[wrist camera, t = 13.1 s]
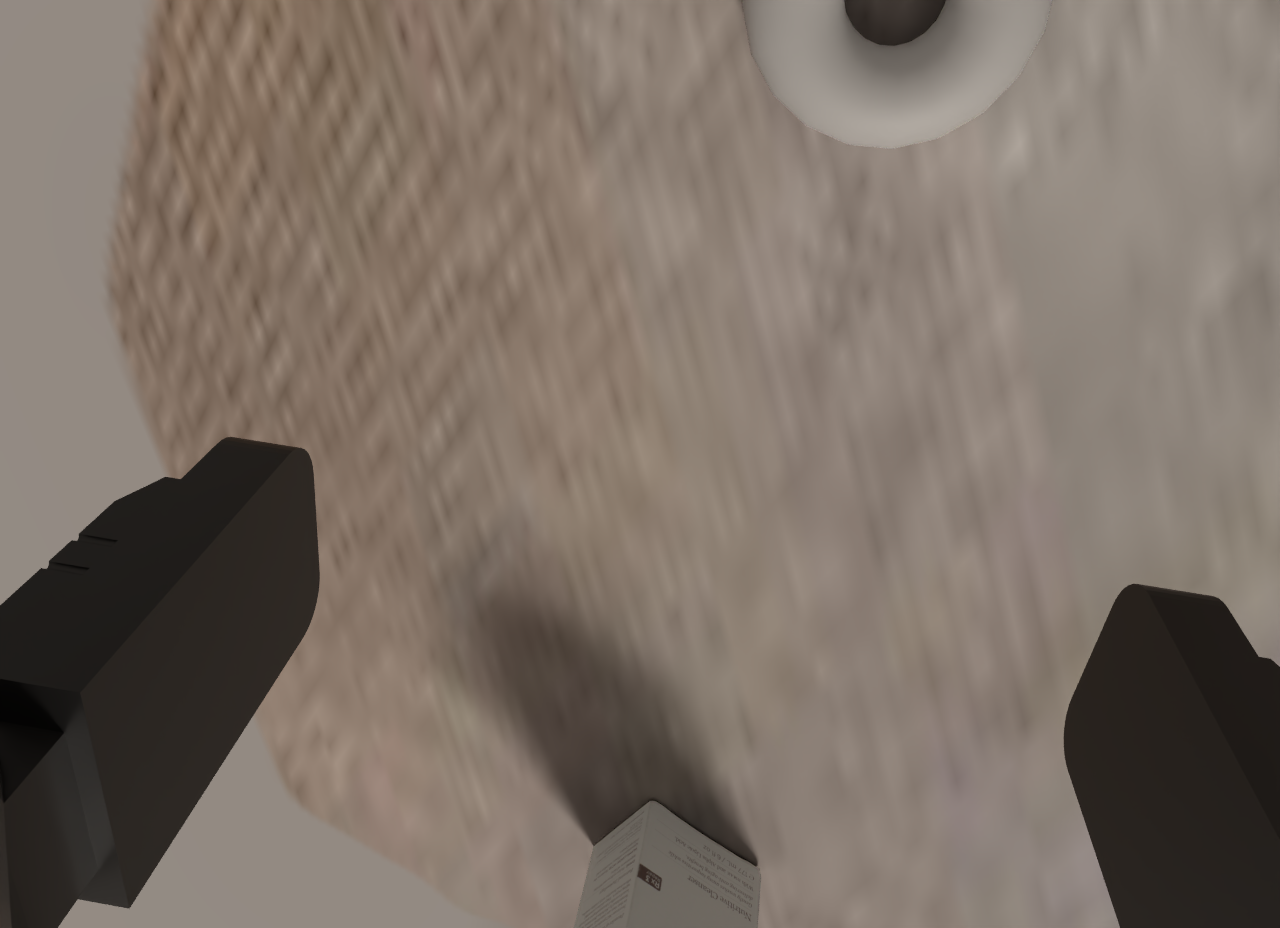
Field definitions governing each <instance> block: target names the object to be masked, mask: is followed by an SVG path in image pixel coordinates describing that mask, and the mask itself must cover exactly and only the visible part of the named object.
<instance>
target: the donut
mask: <svg viewBox="0 0 1280 928" xmlns="http://www.w3.org/2000/svg"><path fill="white" fill-rule="evenodd" d="M1051 4H1052V0H946V2H945V5H944V7H943V8H942V10H941V12H940V14H939V16H938V18H937V20H936V21H935V22H934V23H933V24H932V25H931V27H930V28H929V29H928V30H927V31H926V32H925V33H924V34H922V35H921V36H919V37H917V38H916V39H914V40H912V41H911V42H908V43H904V44H900V45H896V46H889V45H878V44H876V43H874V42H872V41H870V40H867V39H865V38H864V37H863V36H862V35H861V34H860V33H859V32H858V31H857V30H856V29H855V28H854V27H853V26H852V24H851V21H850V19H849V17H848V15H847V13H846V8H845V1H844V0H742V8H743V13H744V19H745V24H746V29H747V35H748V40H749V45H750V51H751V55H752V57H753V58H754V60H755V62H756V64H757V66H758V68H759V70H760V71H761V73H762V75H763V77H764V79H765V81H766V83H767V84H768V86H769V88H770V90H771V92H772V94H773V95H774V96H775V97H776V98H777V99H778V100H779V101H780V102H781V103H782V104H783V105H784V106H785V107H786V108H787V109H789V110H790V111H791V112H792V113H793V114H794V115H795V116H796V117H797V118H798V119H799V120H800V121H801V122H802V123H803V124H805V125H806V126H807V127H809V128H812V129H814V130H816V131H818V132H821V133H823V134H825V135H827V136H830V137H832V138H834V139H836V140H839V141H841V142H843V143H845V144H848V145H856V146H867V147H879V148H890V149H894V148H899V147H903V146H908V145H912V144H917V143H921V142H925V141H930V140H934V139H939V138H941V137H942V136H944V135H946V134H948V133H949V132H951V131H953V130H955V129H957V128H958V127H960V126H962V125H964V124H965V123H967V122H969V121H971V120H973V119H974V118H976V117H978V116H980V115H981V114H983V113H984V112H985V111H986V110H987V109H988V108H989V107H990V106H991V105H992V104H993V103H994V102H995V101H996V100H997V99H998V98H999V97H1000V96H1001V95H1002V94H1003V93H1004V92H1005V91H1006V90H1007V89H1008V88H1009V87H1010V86H1011V85H1012V84H1013V83H1014V82H1015V81H1016V80H1017V79H1018V77H1019V76H1020V74H1021V72H1022V71H1023V69H1024V67H1025V65H1026V63H1027V62H1028V60H1029V58H1030V56H1031V55H1032V53H1033V51H1034V49H1035V48H1036V46H1037V44H1038V42H1039V40H1040V39H1041V37H1042V35H1043V33H1044V32H1045V29H1046V25H1047V21H1048V17H1049V13H1050V8H1051Z"/></svg>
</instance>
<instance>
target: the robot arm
mask: <svg viewBox="0 0 1280 928" xmlns="http://www.w3.org/2000/svg"><path fill="white" fill-rule="evenodd" d="M319 580H320V572H319V555H318V539H317V522H316V506H315V490H314V473H313V466H312V461H311V458H310V456H309V454H308V452H307V451H306V450H305V449H302V448H297V447H291V446H285V445H278V444H272V443H266V442H260V441H253V440H247V439H241V438H235V437H227V438H225V439H223V440H221V441H220V442H219V443H218V444H217V445H216V446H214V447H213V448H212V449H211V450H210V451H209V452H208V453H207V454H206V455H205V456H204V457H203V458H202V459H201V460H200V461H199V462H198V463H197V464H196V465H195V466H194V467H193V468H192V469H191V470H190V471H189V472H188V473H187V474H186V475H185V476H184V477H183V478H182V479H175V478H169V477H164V478H162V479H160V480H158V481H156V482H154V483H152V484H150V485H148V486H146V487H144V488H141V489H139V490H137V491H135V492H133V493H131V494H129V495H127V496H125V497H123V498H121V499H118V500H116V501H114V502H113V503H112V504H111V505H110V506H109V507H108V508H107V509H106V510H105V511H103V512H102V513H101V514H100V515H99V516H98V517H97V518H96V519H95V520H94V521H92V522H91V523H90V524H89V525H88V526H87V527H86V528H85V529H84V530H83V531H82V532H81V533H79V539H78V541H71V542H69V543H68V544H67V545H66V546H65V547H64V548H63V549H62V550H61V551H60V552H58V553H57V554H56V555H55V556H54V557H53V558H52V559H51V560H50V561H49V566H48V568H47V569H42V568H41V569H40V570H39V571H38V572H37V573H35V575H33V576H32V577H31V578H30V579H29V580H28V581H27V582H26V583H24V584H23V585H22V586H21V587H20V588H19V589H18V590H17V591H16V592H15V593H13V594H12V595H11V596H10V597H9V598H8V599H7V600H6V601H5V602H4V603H3V604H1V605H0V928H58V926H59V925H60V924H61V922H62V921H63V919H64V918H65V916H66V915H67V914H68V912H69V911H70V909H71V908H72V906H73V905H74V903H75V902H76V901H77V899H80V900H86V901H91V902H97V903H102V904H108V905H113V906H119V907H124V908H130V907H131V905H132V904H133V902H134V901H135V899H136V897H137V896H138V894H139V893H140V891H141V890H142V888H143V886H144V885H145V883H146V882H147V880H148V879H149V877H150V876H151V874H152V872H153V871H154V869H155V868H156V866H157V865H158V863H159V862H160V860H161V858H162V857H163V855H164V853H165V852H166V851H167V849H168V847H169V846H170V844H171V843H172V841H173V839H174V838H175V837H176V835H177V833H178V832H179V830H180V829H181V827H182V826H183V824H184V823H185V821H186V819H187V818H188V816H189V815H190V813H191V812H192V810H193V808H194V807H195V805H196V804H197V802H198V800H199V799H200V798H201V796H202V794H203V793H204V791H205V790H206V788H207V787H208V785H209V784H210V782H211V780H212V779H213V777H214V776H215V774H216V773H217V771H218V770H219V768H220V766H221V765H222V763H223V762H224V760H225V759H226V757H227V755H228V754H229V752H230V750H231V749H232V748H233V746H234V744H235V743H236V741H237V740H238V738H239V737H240V735H241V734H242V732H243V730H244V729H245V727H246V726H247V724H248V723H249V721H250V720H251V718H252V716H253V715H254V713H255V712H256V710H257V709H258V707H259V706H260V704H261V702H262V701H263V699H264V698H265V696H266V695H267V693H268V692H269V690H270V688H271V687H272V685H273V684H274V682H275V681H276V679H277V678H278V676H279V674H280V673H281V671H282V670H283V668H284V667H285V665H286V663H287V662H288V660H289V659H290V657H291V656H292V654H293V653H294V651H295V649H296V648H297V646H298V645H299V643H300V642H301V640H302V639H303V637H304V635H305V633H306V631H307V629H308V627H309V625H310V622H311V620H312V617H313V614H314V610H315V606H316V602H317V597H318V591H319ZM1064 753H1065V760H1066V765H1067V769H1068V772H1069V775H1070V778H1071V781H1072V784H1073V787H1074V790H1075V793H1076V796H1077V799H1078V802H1079V805H1080V808H1081V811H1082V814H1083V817H1084V820H1085V823H1086V826H1087V829H1088V832H1089V835H1090V838H1091V841H1092V844H1093V847H1094V850H1095V853H1096V856H1097V859H1098V862H1099V865H1100V868H1101V871H1102V874H1103V877H1104V880H1105V883H1106V886H1107V889H1108V892H1109V895H1110V898H1111V901H1112V904H1113V907H1114V910H1115V913H1116V916H1117V919H1118V922H1119V925H1120V928H1280V667H1279V666H1278V665H1277V664H1276V663H1275V662H1274V661H1272V660H1271V659H1268V658H1262V657H1258V655H1257V653H1256V652H1255V650H1254V649H1253V647H1252V646H1251V644H1250V642H1249V641H1248V639H1247V638H1246V636H1245V635H1244V633H1243V631H1242V630H1241V628H1240V627H1239V625H1238V623H1237V622H1236V620H1235V619H1234V617H1233V616H1232V614H1231V612H1230V611H1229V609H1228V608H1227V606H1226V605H1225V604H1224V603H1223V602H1222V601H1221V600H1220V599H1219V598H1216V597H1214V596H1209V595H1202V594H1196V593H1190V592H1184V591H1177V590H1171V589H1165V588H1159V587H1152V586H1146V585H1140V584H1131V585H1128V586H1127V587H1126V588H1124V589H1123V590H1122V591H1121V592H1120V594H1119V595H1118V597H1117V598H1116V600H1115V602H1114V604H1113V606H1112V608H1111V611H1110V613H1109V615H1108V617H1107V620H1106V622H1105V624H1104V627H1103V629H1102V631H1101V633H1100V636H1099V638H1098V640H1097V642H1096V645H1095V647H1094V649H1093V651H1092V654H1091V656H1090V658H1089V660H1088V663H1087V665H1086V667H1085V669H1084V672H1083V674H1082V676H1081V678H1080V681H1079V683H1078V685H1077V687H1076V690H1075V692H1074V694H1073V696H1072V699H1071V701H1070V704H1069V707H1068V711H1067V715H1066V720H1065V728H1064Z"/></svg>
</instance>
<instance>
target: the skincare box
mask: <svg viewBox="0 0 1280 928" xmlns="http://www.w3.org/2000/svg"><path fill="white" fill-rule="evenodd" d="M760 886H761V874H760V869H759V868H758V867H756V866H754V865H753V864H751V863H750V862H748V861H746V860H743V859H742V858H740V857H738V856H737V855H735V854H733V853H732V852H730V851H729V850H727V849H725V848H724V847H722V846H721V845H719V844H717V843H716V842H714V841H713V840H711V839H709V838H708V837H706V836H705V835H703V834H702V833H700V832H699V831H697V830H696V829H694V828H693V827H691V826H690V825H688V824H687V823H686V822H684V821H683V820H681V819H680V818H678V817H677V816H676V815H674V814H673V813H671V812H670V811H669V810H668V809H666V808H665V807H664V806H662V805H661V804H659V803H658V802H656V801H649V802H648V803H647V804H645V805H644V806H643V807H642V808H640V809H639V810H638V811H637V812H635V813H634V814H633V815H632V816H630V817H629V818H628V819H627V820H625V821H624V822H623V823H622V824H620V825H619V826H618V827H617V828H615V829H614V830H613V831H612V832H610V833H609V834H608V835H607V836H605V837H604V838H603V839H602V840H601V841H599V842H598V843H597V844H596V845H595V846H594V847H593V851H592V855H591V860H590V864H589V868H588V872H587V876H586V880H585V884H584V888H583V892H582V896H581V900H580V904H579V909H578V913H577V917H576V921H575V925H574V928H758V915H759V901H760Z"/></svg>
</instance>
